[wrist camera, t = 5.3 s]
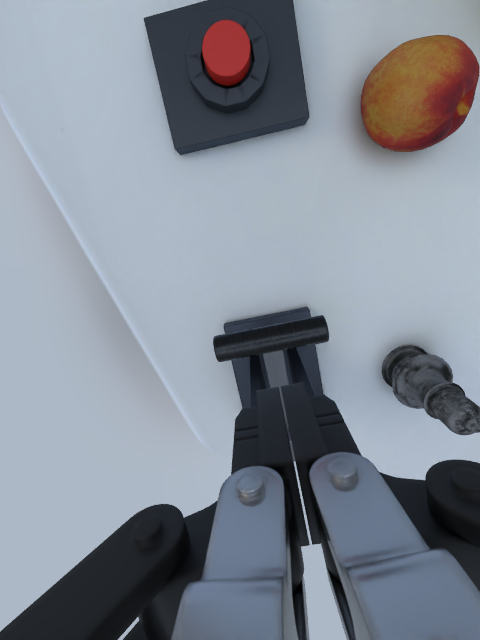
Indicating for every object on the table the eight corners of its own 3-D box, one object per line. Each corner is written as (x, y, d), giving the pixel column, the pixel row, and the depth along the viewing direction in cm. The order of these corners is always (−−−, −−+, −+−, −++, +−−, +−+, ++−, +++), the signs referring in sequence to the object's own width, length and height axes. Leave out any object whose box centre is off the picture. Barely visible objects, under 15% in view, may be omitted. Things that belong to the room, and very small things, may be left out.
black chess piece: (368, 375, 37) (423, 441, 25) (402, 332, 35) (477, 381, 24) (409, 401, 37) (481, 477, 26) (445, 360, 36) (537, 422, 24)
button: (210, 91, 27) (208, 81, 25) (200, 39, 26) (196, 26, 24) (254, 79, 27) (254, 69, 25) (245, 27, 26) (245, 13, 24)
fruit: (384, 182, 32) (428, 166, 24) (332, 111, 30) (361, 70, 22) (456, 119, 30) (528, 81, 22) (404, 42, 29) (462, -27, 21)
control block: (179, 155, 31) (170, 144, 28) (150, 33, 29) (135, 2, 25) (305, 124, 31) (313, 109, 27) (286, -4, 28) (292, -42, 24)
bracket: (224, 323, 36) (207, 384, 21) (307, 306, 35) (348, 358, 21) (246, 420, 39) (245, 531, 24) (323, 407, 38) (369, 513, 24)
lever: (212, 325, 19) (212, 356, 17) (319, 304, 18) (331, 333, 16) (251, 438, 26) (254, 468, 24) (326, 425, 26) (335, 454, 24)
